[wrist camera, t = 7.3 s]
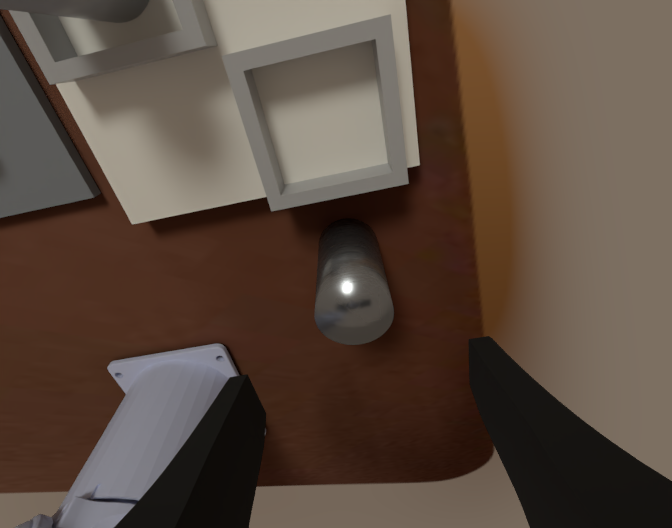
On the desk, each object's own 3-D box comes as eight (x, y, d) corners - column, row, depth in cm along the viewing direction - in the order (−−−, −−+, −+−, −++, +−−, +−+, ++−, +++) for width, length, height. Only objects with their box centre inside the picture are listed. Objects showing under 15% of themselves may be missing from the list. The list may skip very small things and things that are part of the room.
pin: (381, 264, 20) (398, 337, 15) (325, 274, 21) (324, 350, 16) (372, 213, 19) (388, 275, 14) (312, 225, 19) (306, 290, 14)
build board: (415, 162, 17) (461, 225, 11) (145, 218, 19) (53, 302, 13) (377, -232, 11) (436, -578, 5) (-24, -107, 12) (-372, -258, 6)
